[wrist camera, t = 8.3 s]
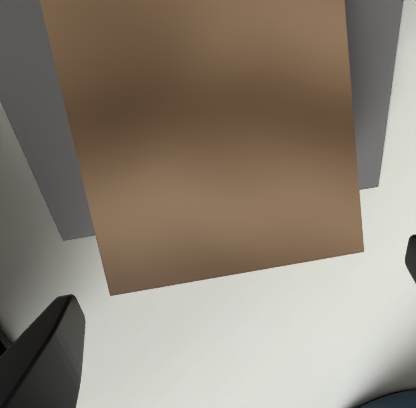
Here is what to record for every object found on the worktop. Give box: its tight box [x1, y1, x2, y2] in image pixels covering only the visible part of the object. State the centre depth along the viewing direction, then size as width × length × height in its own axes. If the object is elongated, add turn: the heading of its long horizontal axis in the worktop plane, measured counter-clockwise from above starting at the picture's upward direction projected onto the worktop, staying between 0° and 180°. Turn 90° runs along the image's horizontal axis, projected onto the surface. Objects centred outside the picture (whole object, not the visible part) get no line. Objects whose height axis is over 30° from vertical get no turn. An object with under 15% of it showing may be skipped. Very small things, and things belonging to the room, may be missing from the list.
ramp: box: [40, 0, 364, 296], centre depth 12 cm, size 10×9×5 cm
